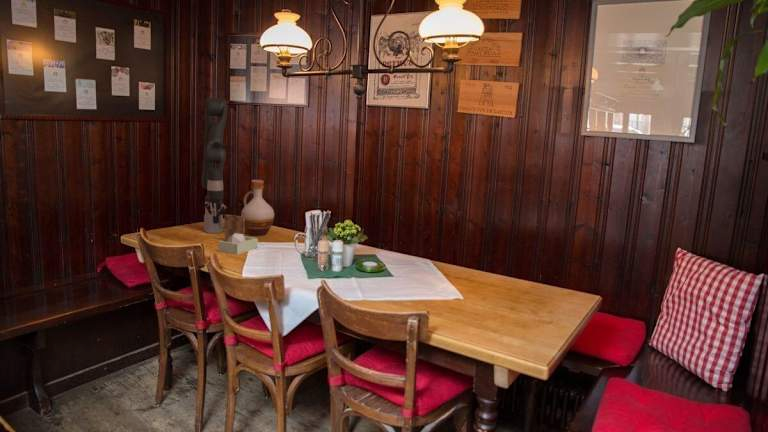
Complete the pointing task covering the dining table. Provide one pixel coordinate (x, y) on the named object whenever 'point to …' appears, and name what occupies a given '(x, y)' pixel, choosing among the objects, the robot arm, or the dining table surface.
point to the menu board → (234, 226)
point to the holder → (238, 246)
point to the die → (236, 238)
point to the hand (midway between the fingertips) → (215, 223)
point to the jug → (257, 211)
